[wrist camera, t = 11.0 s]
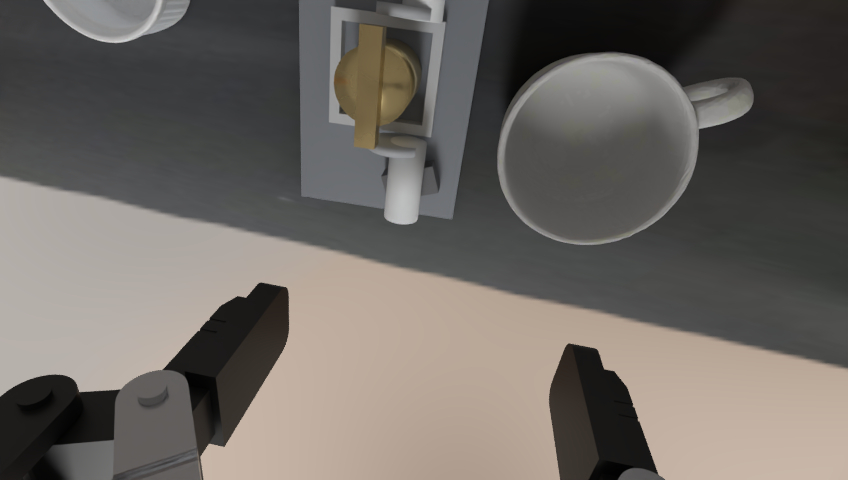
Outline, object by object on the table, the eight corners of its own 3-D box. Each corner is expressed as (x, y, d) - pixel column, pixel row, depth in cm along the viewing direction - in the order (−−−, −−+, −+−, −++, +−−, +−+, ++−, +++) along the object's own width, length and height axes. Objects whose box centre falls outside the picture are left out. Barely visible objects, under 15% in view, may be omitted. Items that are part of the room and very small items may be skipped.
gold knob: (359, 16, 28) (328, 19, 22) (427, 26, 28) (413, 31, 22) (355, 116, 32) (326, 142, 26) (416, 125, 31) (401, 153, 25)
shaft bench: (304, -120, 26) (263, -150, 21) (504, -94, 26) (510, -119, 21) (306, 190, 36) (278, 220, 31) (452, 213, 35) (448, 247, 30)
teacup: (505, 207, 35) (512, 258, 28) (481, 63, 30) (482, 80, 23) (698, 174, 32) (760, 221, 25) (704, 10, 27) (783, 11, 20)
